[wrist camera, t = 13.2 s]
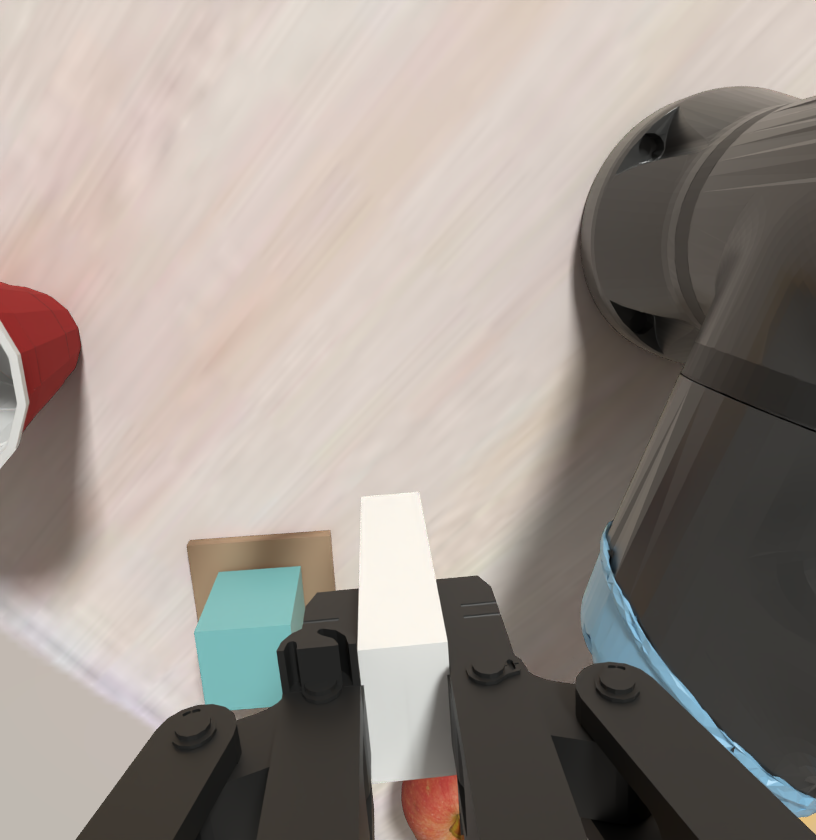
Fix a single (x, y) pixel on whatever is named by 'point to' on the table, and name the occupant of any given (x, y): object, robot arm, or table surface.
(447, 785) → the apple
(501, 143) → the table surface
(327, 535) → the peg stand
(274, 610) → the teal rectangular block
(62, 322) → the plastic cup
